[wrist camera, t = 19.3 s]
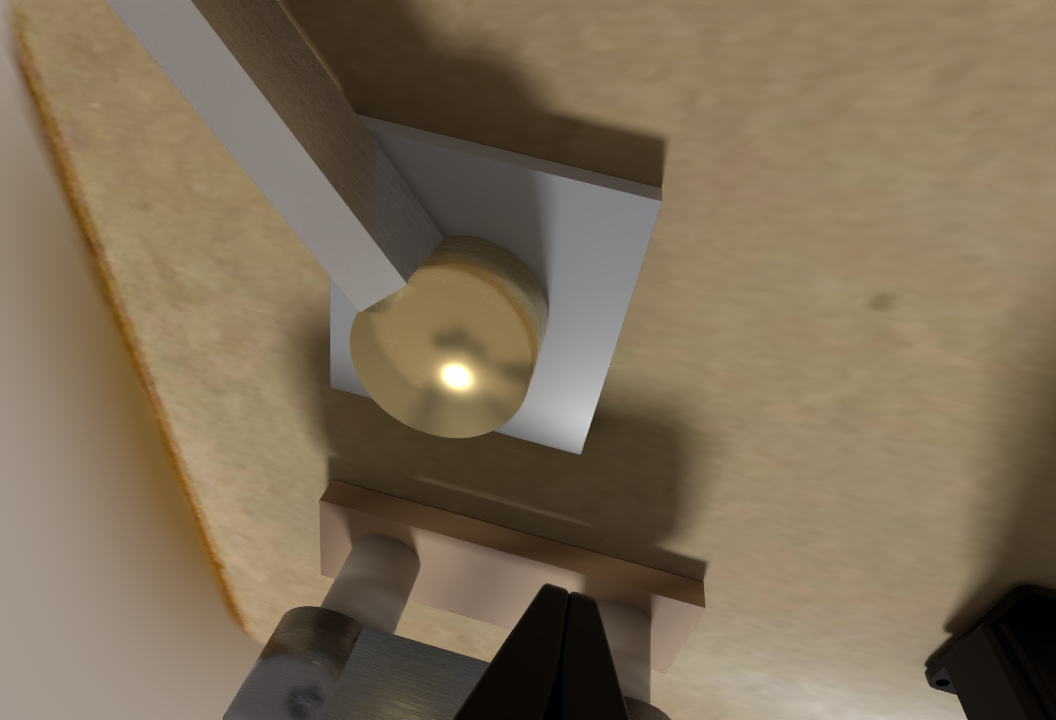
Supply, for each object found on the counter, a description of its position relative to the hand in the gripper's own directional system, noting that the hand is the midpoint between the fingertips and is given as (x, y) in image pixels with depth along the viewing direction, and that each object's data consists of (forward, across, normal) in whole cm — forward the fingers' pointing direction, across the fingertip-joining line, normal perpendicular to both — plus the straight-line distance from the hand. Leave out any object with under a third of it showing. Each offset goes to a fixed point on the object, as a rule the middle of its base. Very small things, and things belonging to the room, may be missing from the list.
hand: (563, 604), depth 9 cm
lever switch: (+9, +8, -3) cm, 12 cm away
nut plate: (+11, +4, +1) cm, 12 cm away
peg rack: (+11, +1, +14) cm, 18 cm away
